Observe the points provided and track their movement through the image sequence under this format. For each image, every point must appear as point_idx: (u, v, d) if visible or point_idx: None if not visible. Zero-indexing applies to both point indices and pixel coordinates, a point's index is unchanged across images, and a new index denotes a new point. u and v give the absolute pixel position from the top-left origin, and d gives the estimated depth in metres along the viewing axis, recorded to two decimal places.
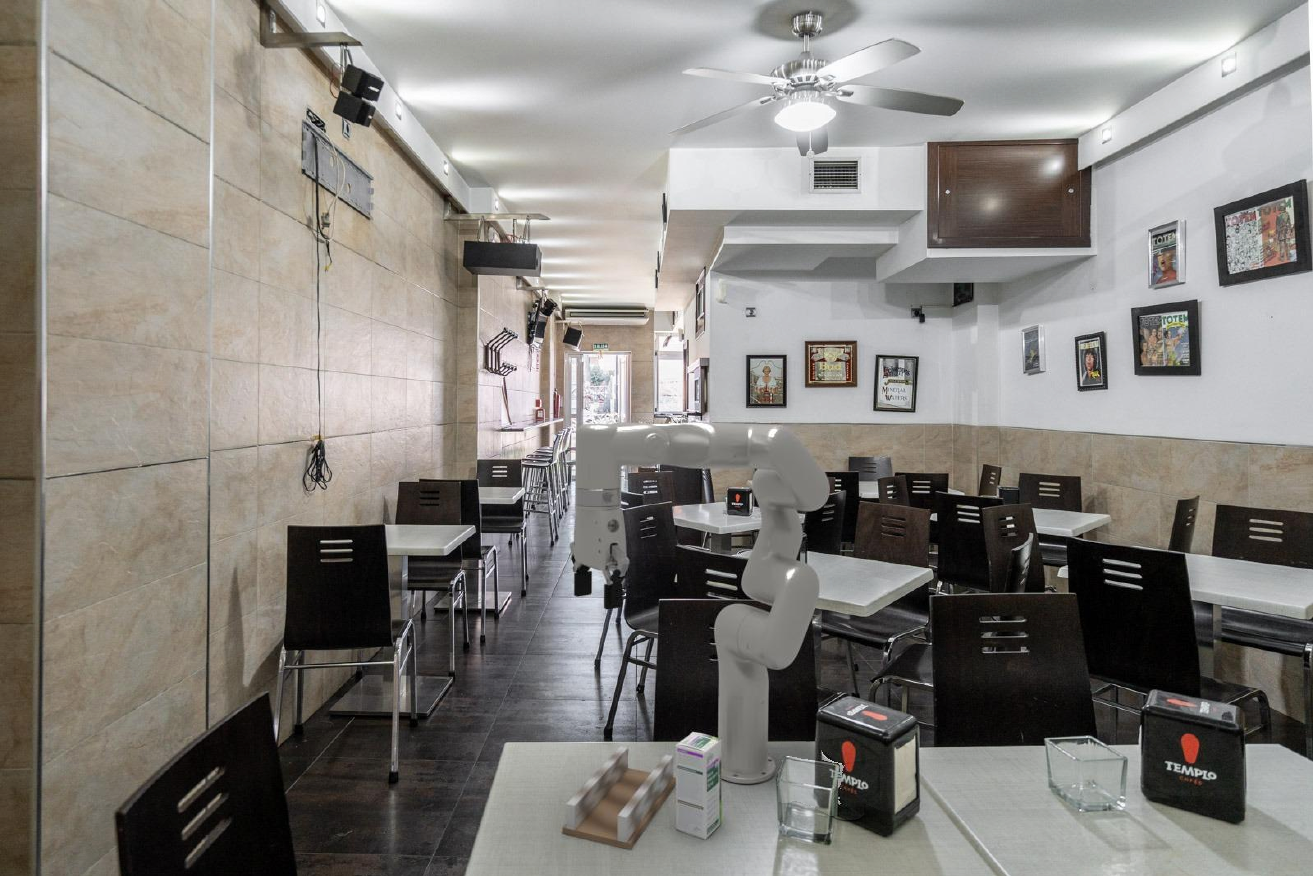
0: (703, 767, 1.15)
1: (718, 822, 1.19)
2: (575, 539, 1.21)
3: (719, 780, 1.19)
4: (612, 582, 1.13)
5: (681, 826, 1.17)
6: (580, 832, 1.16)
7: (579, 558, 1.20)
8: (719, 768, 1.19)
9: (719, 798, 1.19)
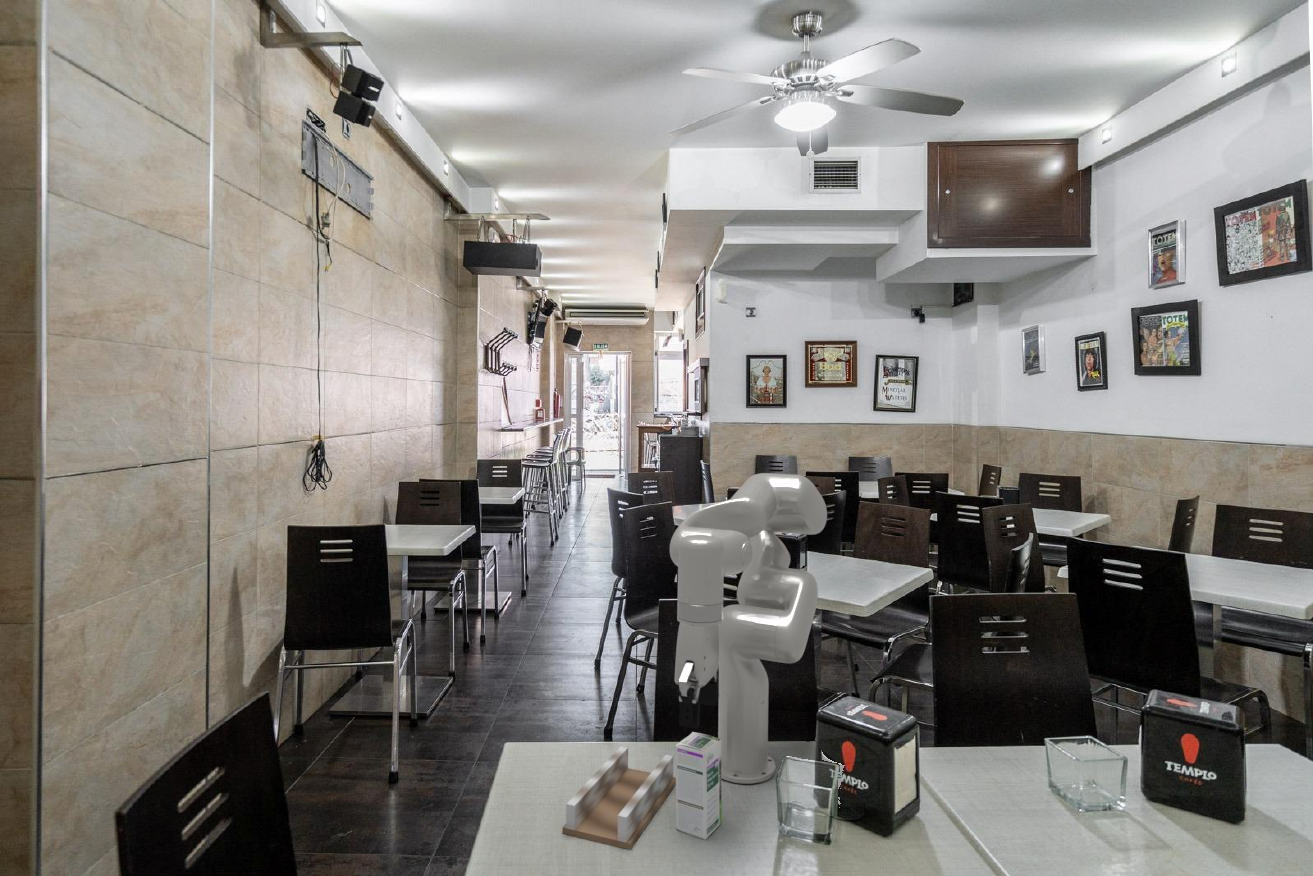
0: (703, 767, 1.15)
1: (718, 822, 1.19)
2: (705, 662, 1.14)
3: (719, 780, 1.19)
4: None
5: (681, 826, 1.17)
6: (580, 832, 1.16)
7: (707, 679, 1.15)
8: (719, 768, 1.19)
9: (719, 798, 1.19)
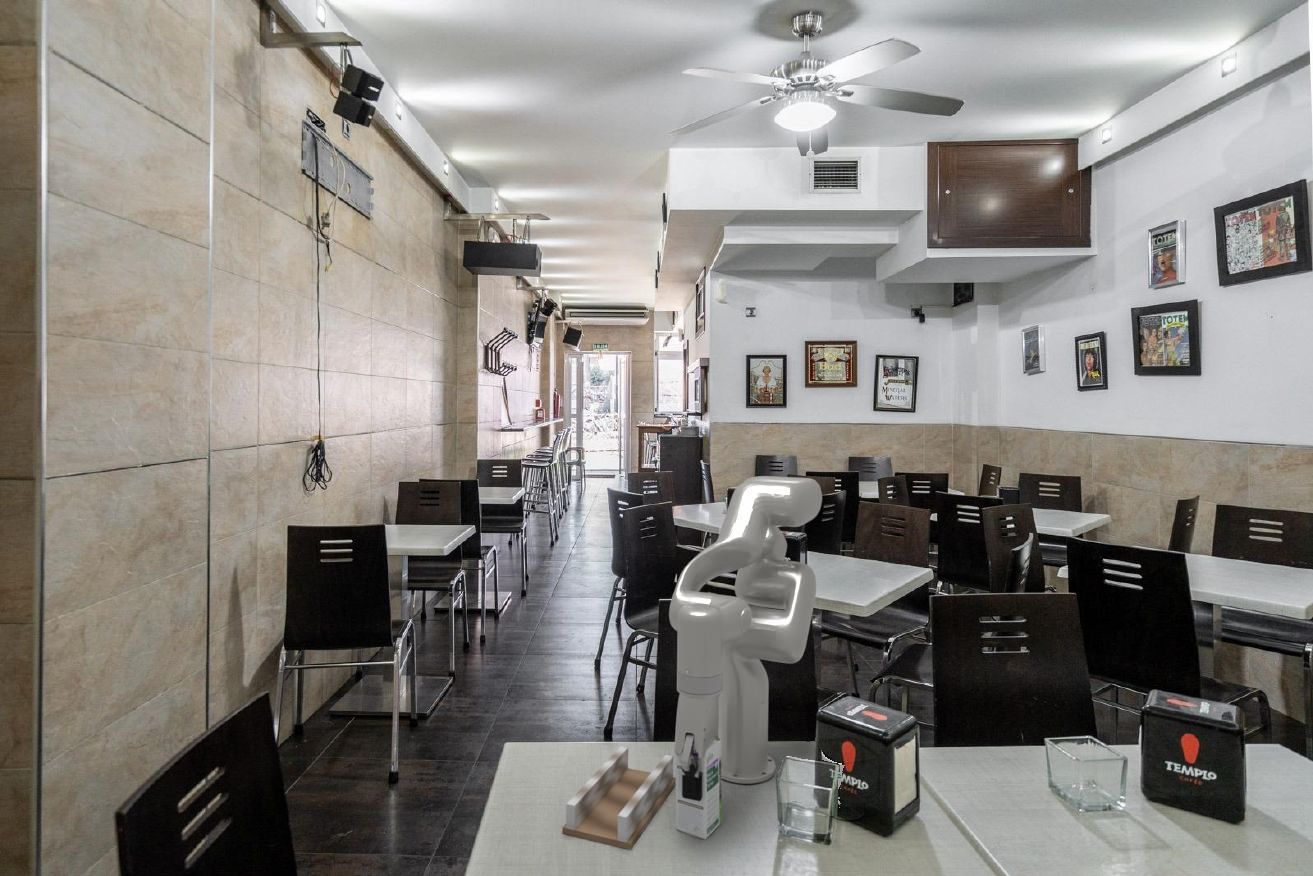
0: (703, 767, 1.15)
1: (718, 822, 1.19)
2: (705, 734, 1.14)
3: (719, 780, 1.19)
4: None
5: (681, 826, 1.17)
6: (580, 832, 1.16)
7: None
8: (719, 768, 1.19)
9: (719, 798, 1.19)
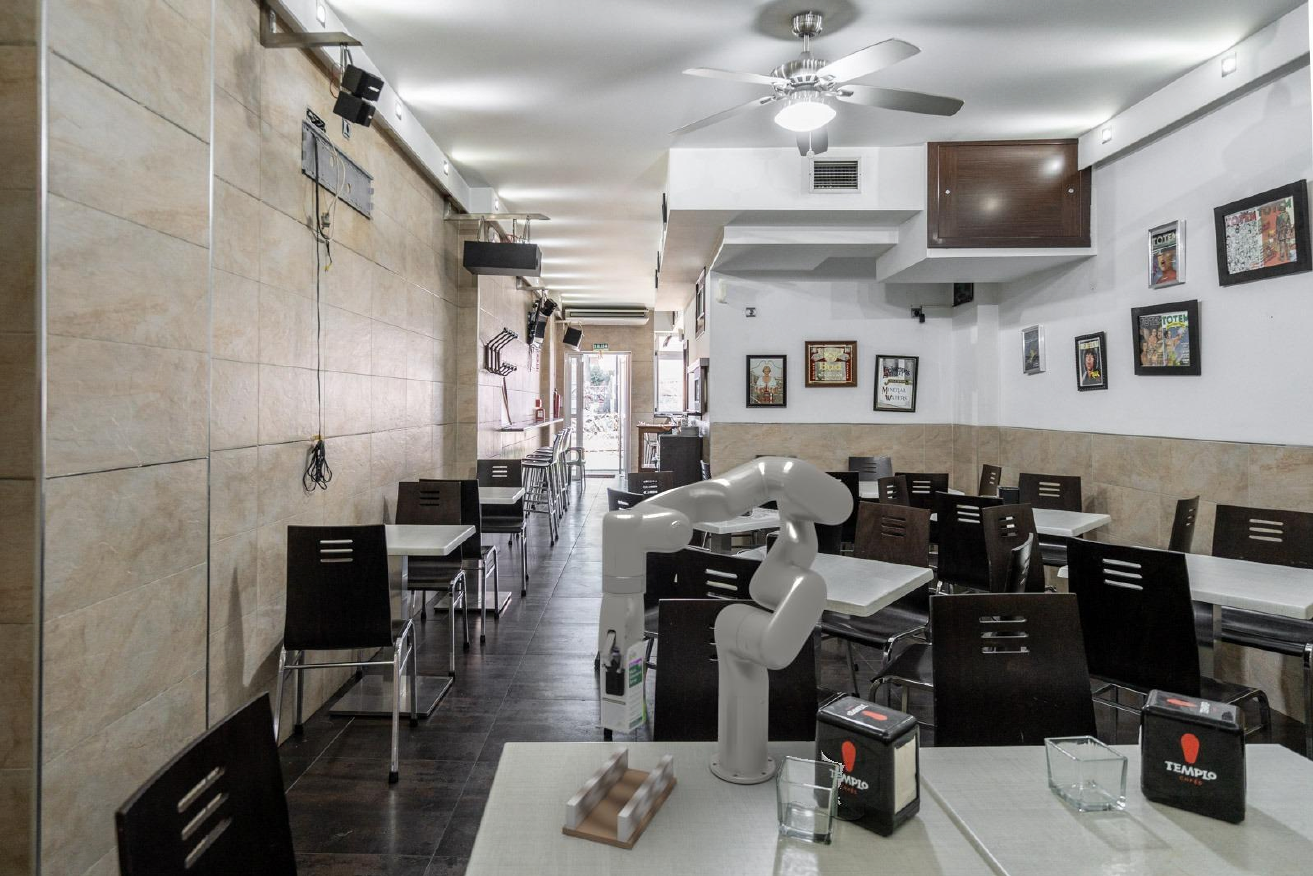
0: (625, 664, 1.19)
1: (642, 720, 1.23)
2: (627, 631, 1.19)
3: (643, 679, 1.23)
4: None
5: (605, 723, 1.22)
6: (580, 832, 1.16)
7: (629, 647, 1.20)
8: (643, 668, 1.23)
9: (643, 697, 1.23)
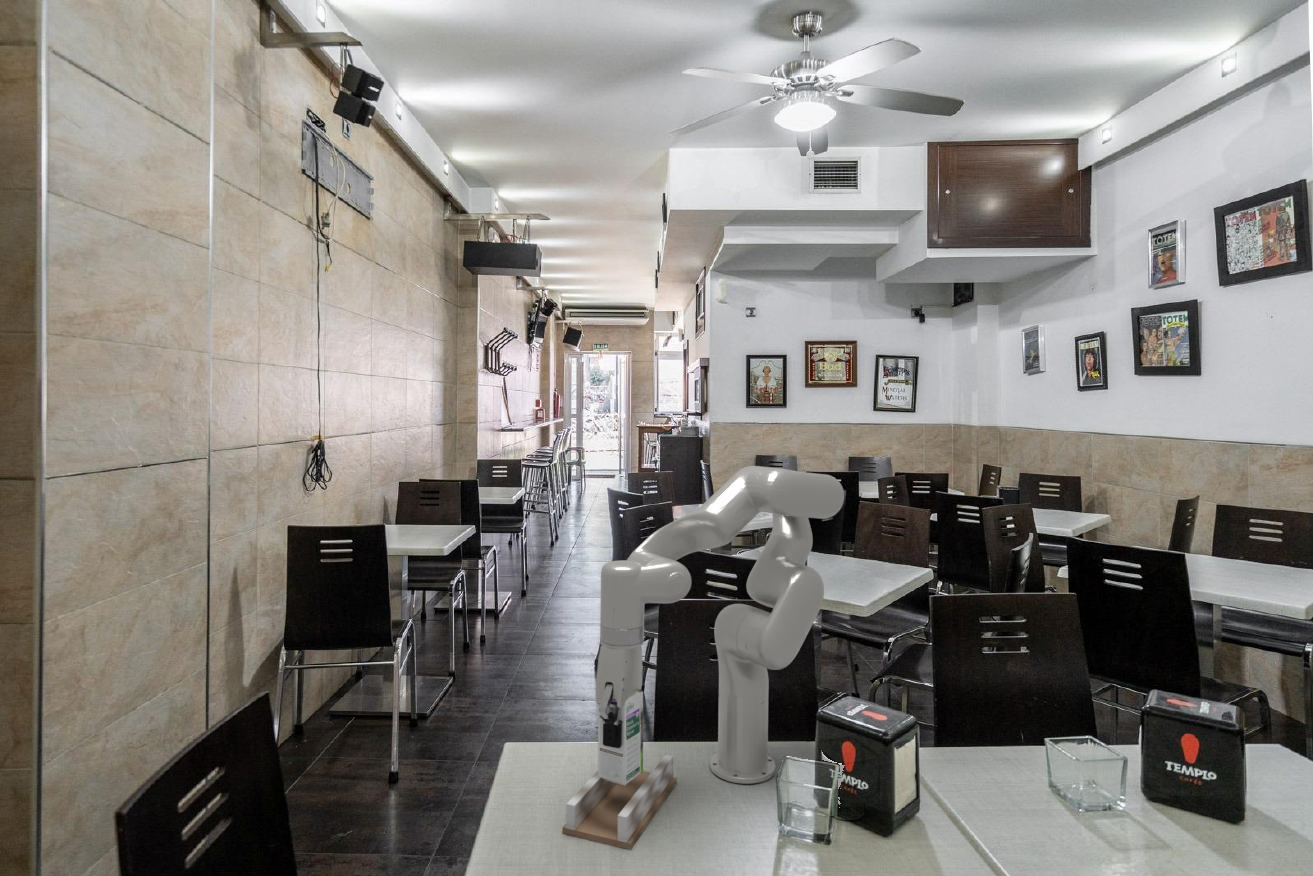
0: (622, 716, 1.20)
1: (639, 770, 1.23)
2: (624, 684, 1.19)
3: (640, 730, 1.24)
4: None
5: (603, 773, 1.22)
6: (580, 832, 1.16)
7: None
8: (641, 718, 1.24)
9: (640, 747, 1.24)
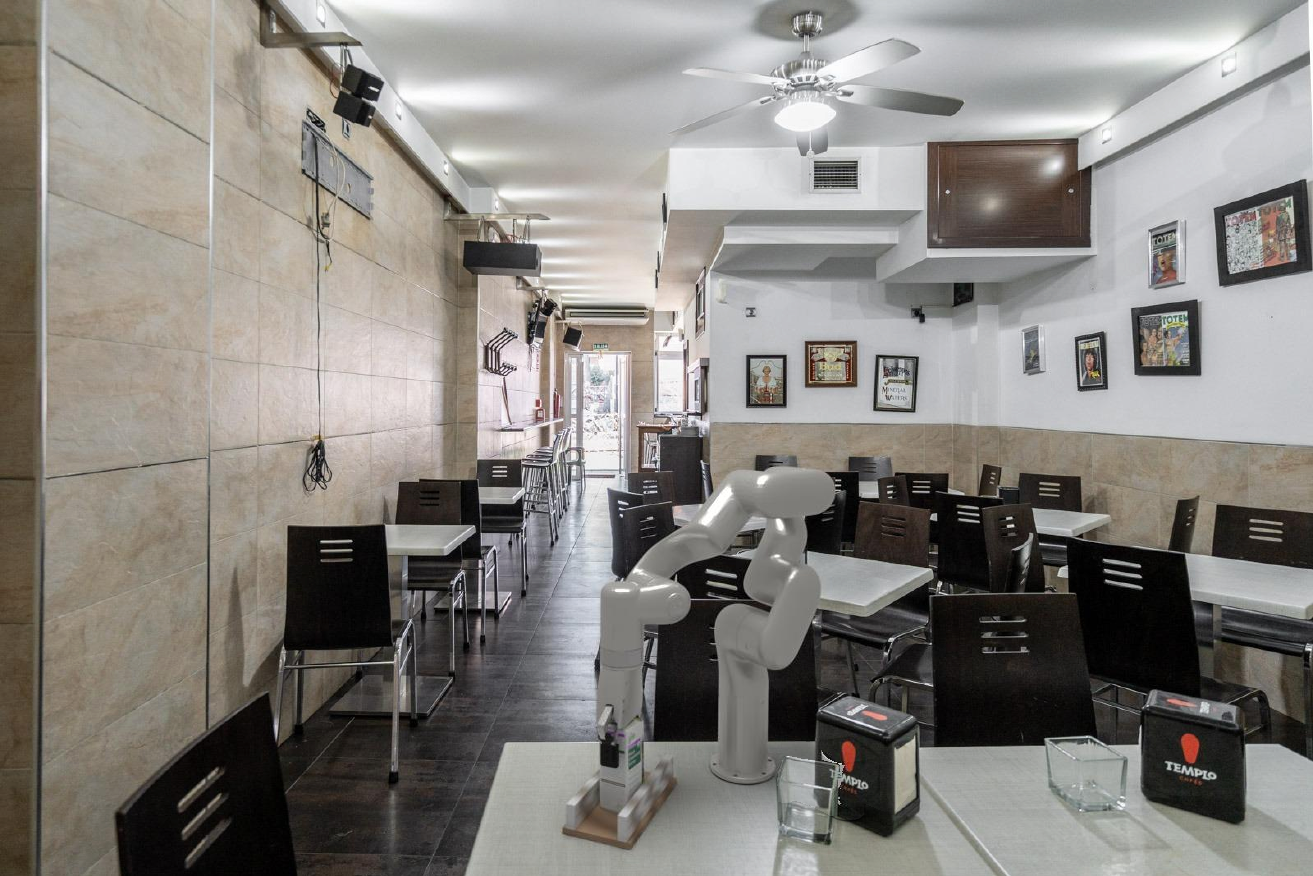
0: (624, 746, 1.20)
1: None
2: (624, 706, 1.19)
3: (641, 759, 1.24)
4: None
5: (604, 804, 1.22)
6: (580, 832, 1.16)
7: (627, 721, 1.20)
8: (642, 747, 1.24)
9: (641, 776, 1.24)
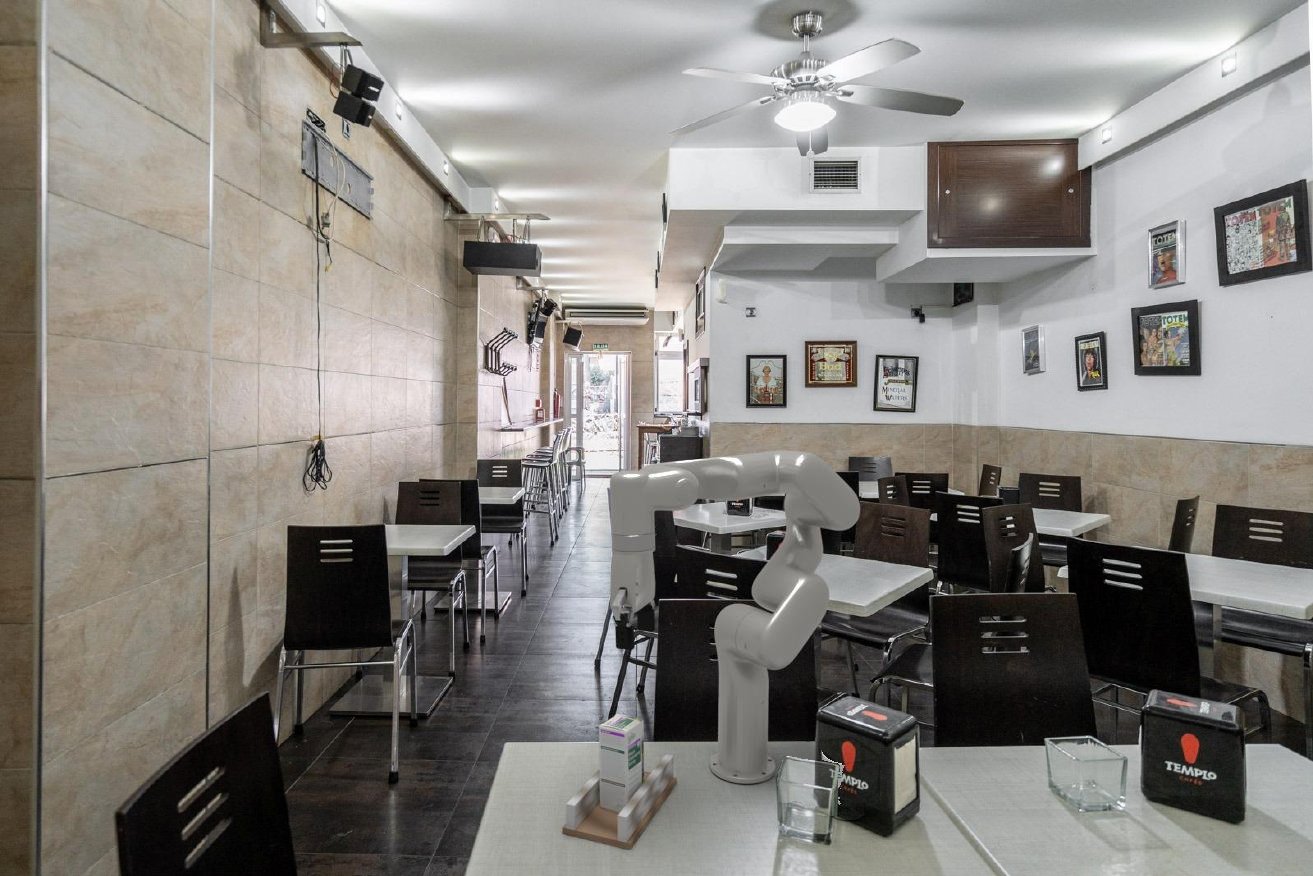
0: (624, 746, 1.20)
1: None
2: (638, 589, 1.20)
3: (641, 759, 1.24)
4: None
5: (604, 804, 1.22)
6: (580, 832, 1.16)
7: (641, 604, 1.22)
8: (642, 747, 1.24)
9: (641, 776, 1.24)
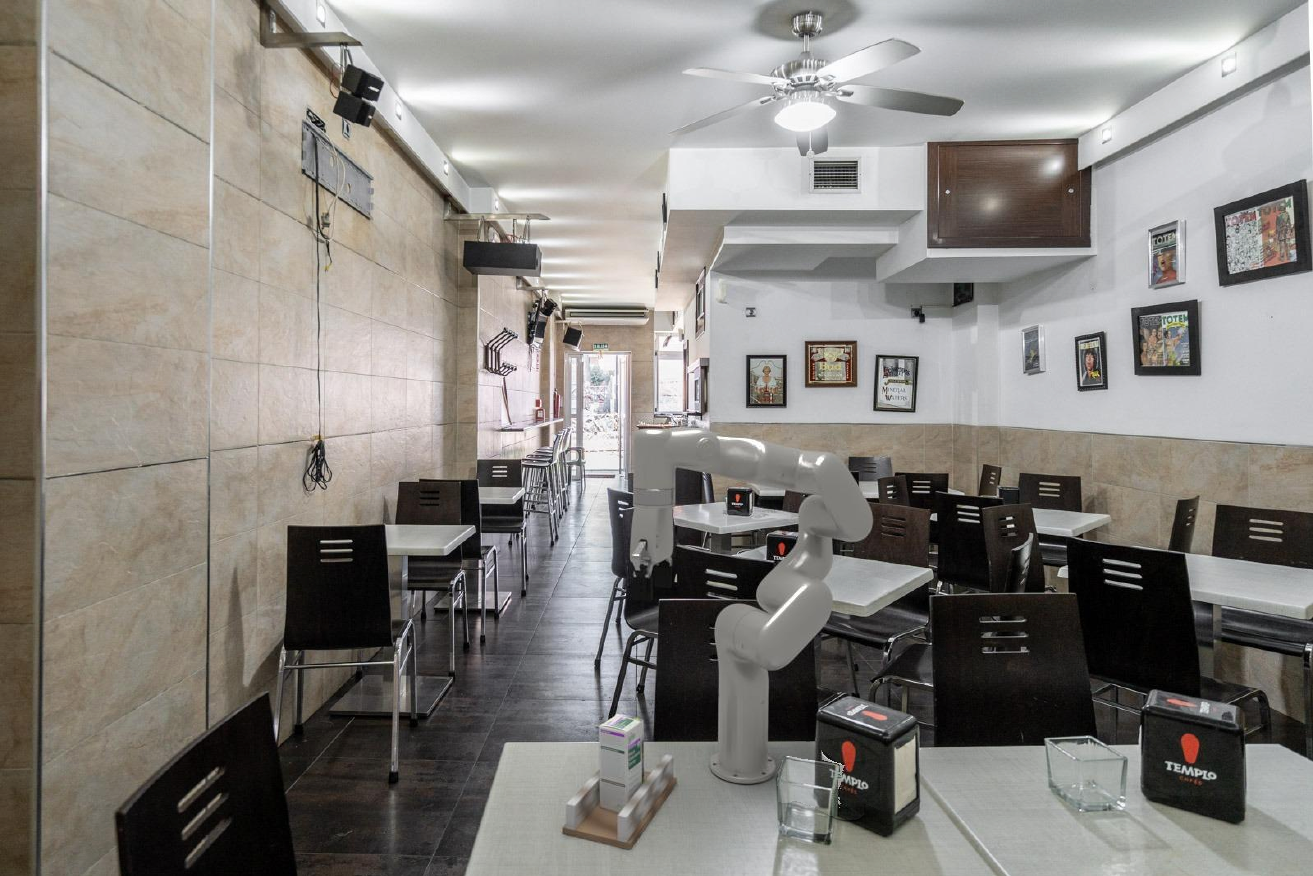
0: (624, 746, 1.20)
1: None
2: (658, 541, 1.24)
3: (641, 759, 1.24)
4: None
5: (604, 804, 1.22)
6: (580, 832, 1.16)
7: (660, 557, 1.25)
8: (642, 747, 1.24)
9: (641, 776, 1.24)
